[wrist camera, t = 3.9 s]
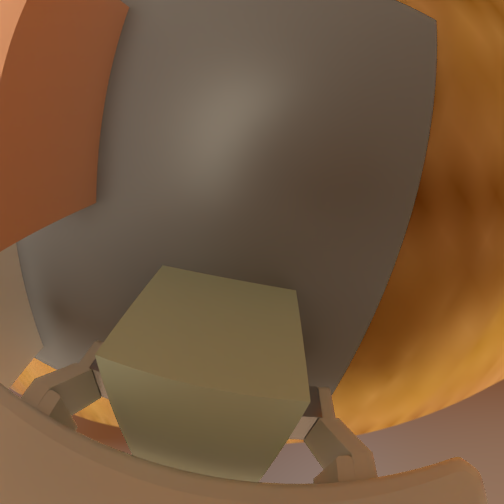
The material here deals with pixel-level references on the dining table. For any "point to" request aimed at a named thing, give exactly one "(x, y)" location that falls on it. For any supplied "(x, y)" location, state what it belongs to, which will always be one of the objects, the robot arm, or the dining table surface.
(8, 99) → the brick terracotta
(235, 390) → the brick green
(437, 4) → the dining table surface
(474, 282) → the dining table surface
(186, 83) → the baseplate
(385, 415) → the dining table surface
